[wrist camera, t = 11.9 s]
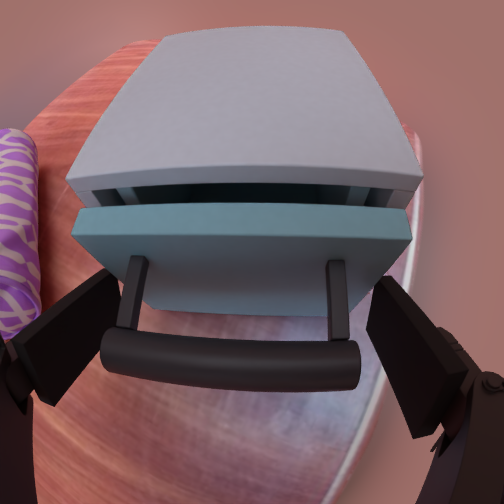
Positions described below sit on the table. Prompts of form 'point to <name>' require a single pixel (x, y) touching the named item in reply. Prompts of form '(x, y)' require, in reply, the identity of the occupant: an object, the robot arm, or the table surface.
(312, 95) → the grey drawer cabinet
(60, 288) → the table surface
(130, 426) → the table surface
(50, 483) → the table surface
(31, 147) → the pencil case
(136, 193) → the dispenser drawer
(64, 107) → the table surface
